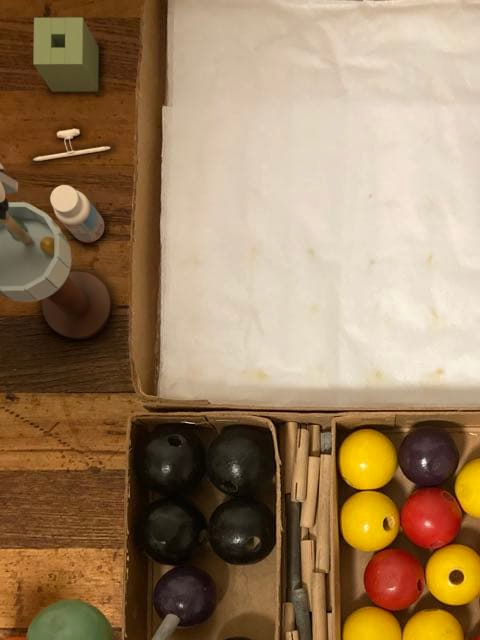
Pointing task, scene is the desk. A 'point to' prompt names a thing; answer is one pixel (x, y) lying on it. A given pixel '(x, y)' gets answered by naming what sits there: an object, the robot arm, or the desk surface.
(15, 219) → the green bead
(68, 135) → the picture light
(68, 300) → the pedestal
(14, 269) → the bowl
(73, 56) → the stand
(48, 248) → the yellow bead
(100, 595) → the desk surface
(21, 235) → the stick
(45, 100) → the desk surface
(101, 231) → the pill bottle
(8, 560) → the desk surface
